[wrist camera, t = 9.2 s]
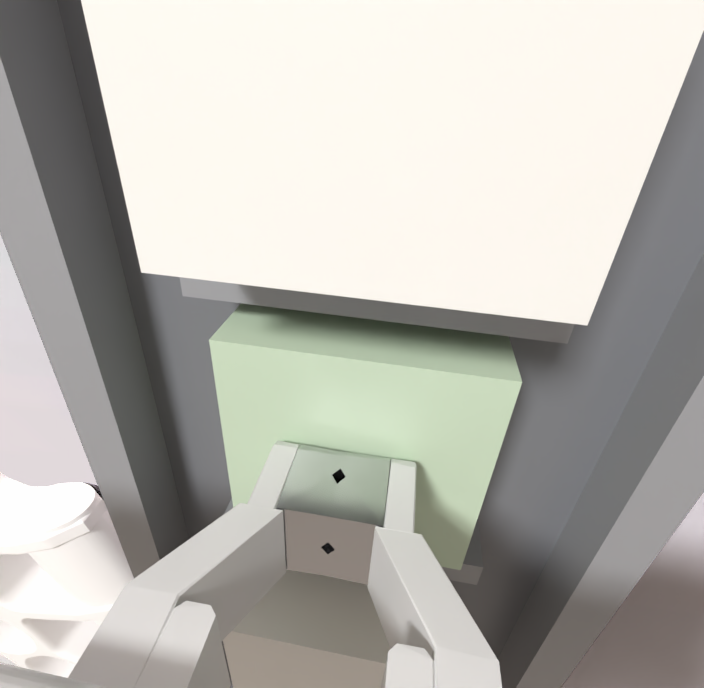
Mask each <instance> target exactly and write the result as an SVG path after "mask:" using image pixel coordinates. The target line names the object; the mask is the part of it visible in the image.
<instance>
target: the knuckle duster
mask: <svg viewBox="0 0 704 688" xmlns="http://www.w3.org/2000/svg"><path fill="white" fill-rule="evenodd" d="M133 579H134V577H133V575H132V572H131V569H130V567H129V564H128V562H127V559H126V557H125V554H124V551H123V549H122V546H121V544H120V541H119V539H118V536H117V533H116V531H115V528H114V526H113V523H112V520H111V518H110V515H109V513H108V510H107V508H106V505H105V502H104V501H103V499H102V498H101V497H100V496H99V495H98V493H97V492H96V491H95V490H94V489H93V487H92V486H90V485H88V484H86V483H82V482H77V483H59V484H55V485H51V486H43V487H31V486H29V485H26V484H23V483H21V482H18V481H16V480H13V479H11V478H8V477H7V476H5V475H4V474H3V473H2V472H0V655H2V656H4V657H6V658H7V659H9V660H10V661H12V662H13V663H15V664H16V665H17V666H18V667H22V668H27V669H31V670H35V671H40V672H44V673H48V674H53V675H57V676H61V677H66V678H68V677H69V675H70V673H71V672H72V670H73V669H74V667H75V665H76V664H77V662H78V660H79V659H80V657H81V656H82V654H83V652H84V651H85V649H86V648H87V646H88V644H89V643H90V641H91V639H92V638H93V636H94V635H95V633H96V631H97V630H98V628H99V627H100V625H101V623H102V622H103V620H104V618H105V617H106V615H107V614H108V612H109V610H110V609H111V607H112V606H113V604H114V602H115V601H116V599H117V597H118V596H119V594H120V593H121V591H122V589H123V588H124V586H125V585H126V584H127V583H129V582H130V581H132V580H133Z"/></svg>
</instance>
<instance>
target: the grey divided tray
mask: <svg viewBox="0 0 704 688" xmlns="http://www.w3.org/2000/svg"><path fill="white" fill-rule="evenodd" d="M0 234H1V236H2V239H3V242H4V244H5V247H6V249H7V252H8V254H9V257H10V260H11V262H12V265H13V267H14V270H15V273H16V275H17V278H18V280H19V283H20V285H21V288H22V291H23V293H24V296H25V298H26V301H27V304H28V306H29V309H30V311H31V314H32V316H33V319H34V322H35V324H36V327H37V329H38V332H39V335H40V337H41V340H42V342H43V345H44V347H45V350H46V353H47V355H48V358H49V360H50V363H51V366H52V368H53V371H54V373H55V376H56V378H57V381H58V384H59V386H60V389H61V391H62V394H63V396H64V399H65V402H66V404H67V407H68V409H69V412H70V415H71V417H72V420H73V422H74V425H75V427H76V430H77V433H78V435H79V438H80V440H81V443H82V446H83V448H84V451H85V453H86V456H87V458H88V461H89V464H90V466H91V469H92V471H93V474H94V477H95V479H96V482H97V484H98V487H99V489H100V492H101V495H102V497H103V500H104V502H105V505H106V508H107V510H108V513H109V515H110V518H111V520H112V523H113V526H114V528H115V531H116V533H117V536H118V539H119V541H120V544H121V546H122V549H123V551H124V554H125V557H126V559H127V562H128V564H129V567H130V569H131V572H132V575H133V577H134V578H136V577H137V576H138V575H140V574H141V573H143V572H144V571H145V570H147V569H148V568H150V567H151V566H152V565H154V564H155V563H157V562H158V561H159V560H161V559H162V558H164V557H165V556H166V555H168V554H169V553H171V552H172V551H173V550H175V549H176V548H178V547H179V546H180V545H182V544H183V543H185V542H186V541H187V540H189V539H190V538H191V537H193V536H194V535H196V534H197V533H198V532H200V531H201V530H203V529H204V528H205V527H207V526H208V525H210V524H211V523H212V522H214V521H215V520H217V519H218V518H219V517H221V516H222V515H224V514H225V513H226V512H228V511H229V510H231V509H232V508H233V502H232V495H231V488H230V482H229V475H228V468H227V461H226V454H225V447H224V440H223V433H222V426H221V420H220V413H219V406H218V399H217V392H216V385H215V378H214V371H213V364H212V358H211V351H210V344H209V339H210V338H211V337H212V336H213V335H214V333H215V332H216V331H217V330H218V329H219V328H220V327H221V326H222V324H223V323H224V322H225V321H226V320H227V319H228V318H229V316H230V315H231V314H232V313H233V312H234V311H235V310H236V309H237V307H238V306H239V305H240V304H241V303H242V304H250V305H259V306H267V307H275V308H283V309H291V310H299V311H307V312H315V313H323V314H331V315H339V316H347V317H355V318H363V319H371V320H380V321H388V322H396V323H404V324H412V325H420V326H428V327H436V328H444V329H452V330H460V331H468V332H476V333H484V334H493V335H501V336H509V339H510V342H511V346H512V349H513V352H514V356H515V359H516V362H517V366H518V369H519V372H520V376H521V379H522V385H521V388H520V391H519V394H518V397H517V400H516V403H515V406H514V409H513V412H512V415H511V418H510V421H509V424H508V428H507V431H506V434H505V437H504V440H503V443H502V446H501V449H500V452H499V455H498V458H497V461H496V464H495V467H494V470H493V473H492V476H491V479H490V482H489V485H488V488H487V492H486V495H485V498H484V501H483V504H482V507H481V510H480V513H479V516H478V519H477V522H476V525H475V528H474V531H473V534H472V537H471V540H470V543H469V546H468V549H467V552H466V556H465V559H464V562H463V565H462V568H461V570H456V569H451V568H446V567H442V568H443V570H444V572H445V573H446V575H447V577H448V578H449V580H450V582H451V583H452V585H453V587H454V588H455V590H456V591H457V593H458V595H459V596H460V598H461V600H462V601H463V603H464V605H465V606H466V608H467V610H468V611H469V613H470V615H471V616H472V618H473V620H474V621H475V623H476V624H477V626H478V628H479V629H480V631H481V633H482V634H483V636H484V638H485V639H486V641H487V643H488V644H489V646H490V648H491V649H492V651H493V653H494V654H495V656H496V657H497V659H498V661H499V665H500V674H501V682H502V688H561V687H562V685H563V684H564V682H565V681H566V680H567V678H568V677H569V676H570V674H571V673H572V672H573V670H574V669H575V667H576V666H577V665H578V663H579V662H580V661H581V659H582V658H583V656H584V655H585V654H586V652H587V651H588V650H589V648H590V647H591V646H592V644H593V643H594V641H595V640H596V639H597V637H598V636H599V635H600V633H601V632H602V630H603V629H604V628H605V626H606V625H607V624H608V622H609V621H610V620H611V618H612V617H613V615H614V614H615V613H616V611H617V610H618V609H619V607H620V606H621V605H622V603H623V602H624V600H625V599H626V598H627V596H628V595H629V594H630V592H631V591H632V589H633V588H634V587H635V585H636V584H637V583H638V581H639V580H640V579H641V577H642V576H643V574H644V573H645V572H646V570H647V569H648V568H649V566H650V565H651V563H652V562H653V561H654V559H655V558H656V557H657V555H658V554H659V553H660V551H661V550H662V548H663V547H664V546H665V544H666V543H667V542H668V540H669V539H670V538H671V536H672V535H673V533H674V532H675V531H676V529H677V528H678V527H679V525H680V524H681V522H682V521H683V520H684V518H685V517H686V516H687V514H688V513H689V512H690V510H691V509H692V507H693V506H694V505H695V503H696V502H697V501H698V499H699V498H700V496H701V495H702V494H703V492H704V31H703V33H702V36H701V38H700V41H699V44H698V46H697V49H696V51H695V54H694V56H693V59H692V61H691V64H690V66H689V69H688V71H687V74H686V77H685V79H684V82H683V84H682V87H681V89H680V92H679V94H678V97H677V99H676V102H675V104H674V107H673V110H672V112H671V115H670V117H669V120H668V122H667V125H666V127H665V130H664V132H663V135H662V137H661V140H660V143H659V145H658V148H657V150H656V153H655V155H654V158H653V160H652V163H651V165H650V168H649V170H648V173H647V176H646V178H645V181H644V183H643V186H642V188H641V191H640V193H639V196H638V198H637V201H636V203H635V206H634V209H633V211H632V214H631V216H630V219H629V221H628V224H627V226H626V229H625V231H624V234H623V236H622V239H621V242H620V244H619V247H618V249H617V252H616V254H615V257H614V259H613V262H612V264H611V267H610V269H609V272H608V275H607V277H606V280H605V282H604V285H603V287H602V290H601V292H600V295H599V297H598V300H597V302H596V305H595V308H594V310H593V313H592V315H591V318H590V320H589V323H588V325H579V324H570V323H562V322H554V321H545V320H537V319H528V318H520V317H511V316H503V315H495V314H486V313H478V312H469V311H461V310H453V309H444V308H436V307H427V306H419V305H410V304H402V303H394V302H385V301H377V300H368V299H360V298H352V297H343V296H335V295H326V294H318V293H309V292H301V291H293V290H284V289H276V288H267V287H259V286H251V285H242V284H234V283H225V282H217V281H208V280H200V279H192V278H183V277H175V276H166V275H158V274H150V273H141V269H140V265H139V260H138V256H137V251H136V247H135V242H134V238H133V233H132V229H131V224H130V220H129V215H128V211H127V206H126V201H125V197H124V192H123V188H122V183H121V179H120V174H119V170H118V165H117V161H116V156H115V152H114V147H113V143H112V138H111V134H110V129H109V125H108V120H107V116H106V111H105V107H104V102H103V98H102V93H101V89H100V84H99V80H98V75H97V71H96V66H95V62H94V57H93V53H92V48H91V44H90V39H89V34H88V30H87V25H86V21H85V16H84V12H83V7H82V3H81V0H0ZM222 646H223V650H224V655H225V659H226V664H227V668H228V673H229V678H230V682H231V686H230V688H233V684H232V680H231V675H230V671H229V666H228V662H227V657H226V653H225V648H224V644H223V641H222Z"/></svg>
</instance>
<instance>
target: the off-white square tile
mask: <svg viewBox="0 0 704 688" xmlns="http://www.w3.org/2000/svg"><path fill="white" fill-rule="evenodd" d="M367 586H368V585H366V584H361V583H356V582H352V581H347V580H343V579H338V578H333V577H329V576H323V575H317V574H311V573H305V572H298V571H292V570H286V573H285V574H284V575H283V576H282V577H281V579H280V580H279V581H278V582H277V583H276V584H275V585H274V586H273V587H272V588H271V589H270V590H269V591H268V592H267V594H266V595H265V596H264V597H263V598H262V599H261V600H260V601H259V602H258V603H257V604H256V605H255V606H254V607H253V609H252V610H251V611H250V612H249V613H248V614H247V615H246V616H245V617H244V618H243V619H242V620H241V621H240V622H239V624H238V625H237V626H236V627H235V628H234V629H233V630H232V631H231V632H230V633H229V634H228V635H227V636H226V637H225V639H224V640H223V644H224V648H225V653H226V657H227V662H228V666H229V671H230V675H231V680H232V684H233V688H381V684H382V679H383V675H384V670H385V665H386V660H387V656H388V651H389V650H390V646H389V643H388V641H387V638H386V635H385V633H384V630H383V627H382V625H381V622H380V619H379V617H378V614H377V611H376V609H375V606H374V603H373V601H372V598H371V596H370V593H369V590H368V588H367Z"/></svg>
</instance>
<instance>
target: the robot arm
mask: <svg viewBox="0 0 704 688" xmlns="http://www.w3.org/2000/svg"><path fill="white" fill-rule="evenodd" d="M390 460H391V461H390ZM416 471H417V466H416V463H415V462H412V461H405V460H398V459H391V458H385V457H378V456H371V455H364V454H357V453H350V452H341V451H336V450H330V449H325V448H319V447H314V446H308V445H303V444H301V445H300V444H295V443H289V442H284V441H277V442H276V443H275V444H274V445H273V447H272V449H271V451H270V453H269V456H268V458H267V460H266V462H265V465H264V467H263V469H262V471H261V474H260V476H259V478H258V480H257V483H256V485H255V487H254V489H253V492H252V494H251V496H250V498H249V501H248V503H247V504H244V503H239V504H238V505H236V506H235V507H233V508H232V509H231V510H229V511H228V512H226V513H225V514H224V515H222V516H221V517H219V518H218V519H217V520H215V521H214V522H212V523H211V524H210V525H208V526H207V527H205V528H204V529H203V530H201V531H200V532H198V533H197V534H196V535H194V536H193V537H191V538H190V539H189V540H187V541H186V542H185V543H183V544H182V545H180V546H179V547H178V548H176V549H175V550H173V551H172V552H171V553H169V554H168V555H166V556H165V557H164V558H162V559H161V560H159V561H158V562H157V563H155V564H154V565H152V566H151V567H150V568H148V569H147V570H145V571H144V572H143V573H141V574H140V575H138V576H137V577H136V578H134V579H133V580H132V581H130V582H129V583H127V584H126V585H125V586H124V588H123V589H122V591H121V593H120V594H119V596H118V597H117V599H116V601H115V602H114V604H113V606H112V607H111V609H110V610H109V612H108V614H107V615H106V617H105V618H104V620H103V622H102V623H101V625H100V627H99V628H98V630H97V631H96V633H95V635H94V636H93V638H92V639H91V641H90V643H89V644H88V646H87V648H86V649H85V651H84V652H83V654H82V656H81V657H80V659H79V660H78V662H77V664H76V665H75V667H74V669H73V670H72V672H71V673H70V675H69V677H68V678H66V677H61V676H57V675H53V674H48V673H44V672H40V671H35V670H31V669H27V668H22V667H18V666H14V665H9V664H5V663H1V662H0V688H230V686H231V682H230V678H229V673H228V668H227V664H226V659H225V655H224V650H223V646H222V641H223V640H224V639H225V637H226V636H227V635H228V634H229V633H230V632H231V631H232V630H233V629H234V628H235V627H236V626H237V625H238V624H239V622H240V621H241V620H242V619H243V618H244V617H245V616H246V615H247V614H248V613H249V612H250V611H251V610H252V609H253V607H254V606H255V605H256V604H257V603H258V602H259V601H260V600H261V599H262V598H263V597H264V596H265V595H266V594H267V592H268V591H269V590H270V589H271V588H272V587H273V586H274V585H275V584H276V583H277V582H278V581H279V580H280V579H281V577H282V576H283V575H284V574H285V573H286V570H292V571H298V572H305V573H311V574H317V575H323V576H329V577H333V578H338V579H343V580H347V581H352V582H356V583H361V584H366V585H368V586H367V588H368V590H369V593H370V596H371V598H372V601H373V603H374V606H375V609H376V611H377V614H378V617H379V619H380V622H381V625H382V627H383V630H384V633H385V635H386V638H387V641H388V643H389V646H390V650H389V651H388V656H387V660H386V665H385V670H384V675H383V679H382V684H381V688H502V682H501V674H500V665H499V661H498V659H497V657H496V656H495V654H494V653H493V651H492V649H491V648H490V646H489V644H488V643H487V641H486V639H485V638H484V636H483V634H482V633H481V631H480V629H479V628H478V626H477V624H476V623H475V621H474V620H473V618H472V616H471V615H470V613H469V611H468V610H467V608H466V606H465V605H464V603H463V601H462V600H461V598H460V596H459V595H458V593H457V591H456V590H455V588H454V587H453V585H452V583H451V582H450V580H449V578H448V577H447V575H446V573H445V572H444V570H443V568H442V567H441V565H440V563H439V562H438V560H437V558H436V557H435V555H434V554H433V552H432V550H431V549H430V547H429V545H428V544H427V542H426V540H425V539H424V537H423V535H422V534H417V533H414V525H415V498H416Z"/></svg>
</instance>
